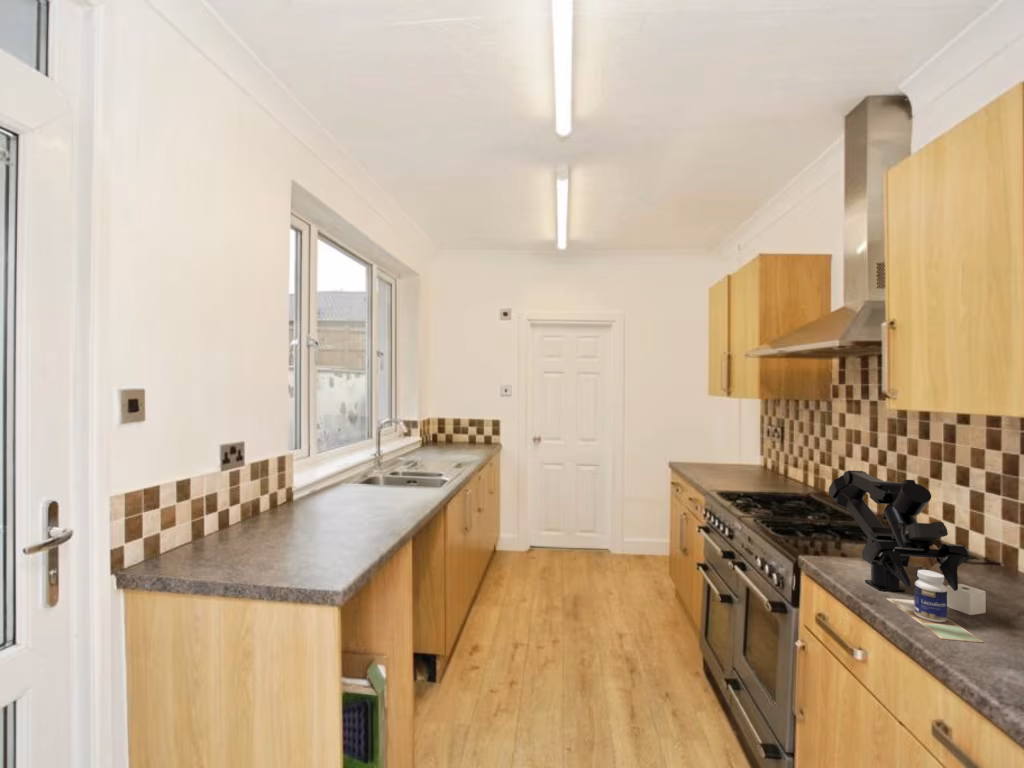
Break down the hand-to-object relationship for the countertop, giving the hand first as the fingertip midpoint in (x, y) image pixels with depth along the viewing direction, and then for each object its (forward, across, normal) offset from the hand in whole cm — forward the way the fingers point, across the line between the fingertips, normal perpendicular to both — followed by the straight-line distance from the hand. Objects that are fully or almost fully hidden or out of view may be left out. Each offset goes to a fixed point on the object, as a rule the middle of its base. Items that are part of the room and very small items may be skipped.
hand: (932, 588), depth 114 cm
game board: (+4, 0, +6) cm, 7 cm away
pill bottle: (+4, 0, +6) cm, 7 cm away
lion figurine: (-18, +13, +28) cm, 35 cm away
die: (-1, +12, +11) cm, 16 cm away
